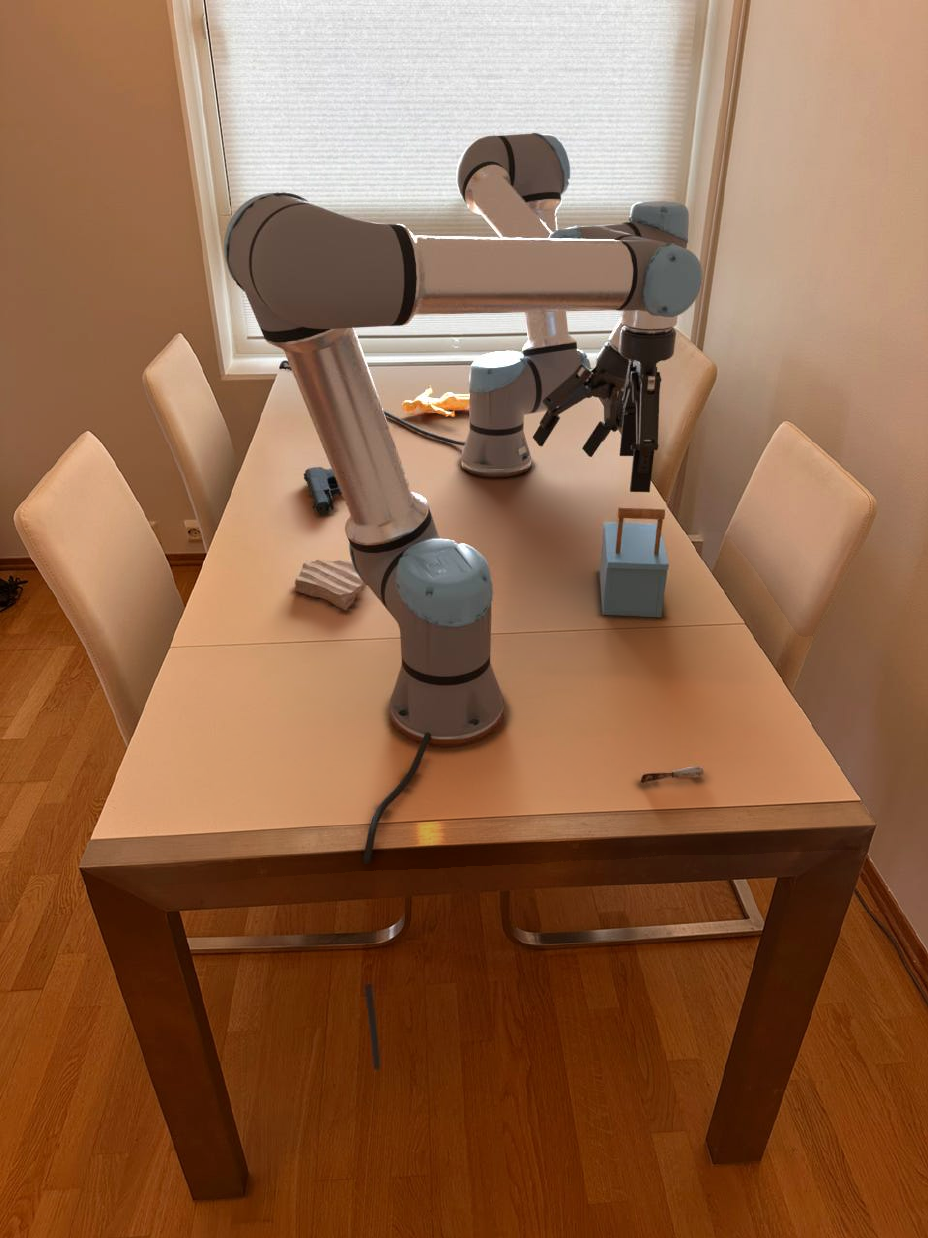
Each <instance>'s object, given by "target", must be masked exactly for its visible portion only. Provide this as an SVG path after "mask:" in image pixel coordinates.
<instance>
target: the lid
mask: <svg viewBox="0 0 928 1238" xmlns="http://www.w3.org/2000/svg"><path fill="white" fill-rule="evenodd" d="M617 519H618V520H617V521H604V522H603V528H604V537H605V548H606V559H607V568H625V569H651V570H667V571H669V566H670V564H669V559H668V555H667V549H666V546H665V539H664V536H663V523H664V520H665V519H666V509H665V508H649V507H618V508H617ZM625 519H636V520H657V522H656V523H650V522H649V523H648V522H624V520H625Z"/></svg>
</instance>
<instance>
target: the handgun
mask: <svg viewBox="0 0 928 1238" xmlns="http://www.w3.org/2000/svg"><path fill="white" fill-rule="evenodd" d="M303 480H304V481H305V482H306V483H307V487H308V490H309V494H310V496H311V499H312V502H313V505H311V508H312V509H313V510H314V509H315V512H316V513H317V514H318V515H328V514H329V513H330V509H331V510H332V511H334V510H335V509H334V507H335V506H334V499H333V496H338V495H340V494H341V490H340V488H339V485H338V483H337V480H336V478H335V475H334V473H333V470H332V468H331V467H330V468H324V467H322V466H315V467H314V466H313V467H308V468H307V469H305V471H304V473H303Z"/></svg>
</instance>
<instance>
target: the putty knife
mask: <svg viewBox="0 0 928 1238" xmlns="http://www.w3.org/2000/svg"><path fill="white" fill-rule="evenodd" d="M704 772H705V771H704V768H702V767H701V766H697V765H695V766H688V767H683V768H679V769H675V770H673V771H671V772H653V773H652V772H651V773H650V772H649V773H644V774H642V776H641V779H640V783H642V784H645V783H648V782H653V781H659V780H665V779H668V778H673V779H674V778H675V779H693V778H694V779H695V778H700V777H702V776H703V775H704Z"/></svg>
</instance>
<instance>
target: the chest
mask: <svg viewBox="0 0 928 1238" xmlns="http://www.w3.org/2000/svg"><path fill="white" fill-rule="evenodd" d="M601 540H602V541H601V550H600V551H601V552H600V563H599V586H600V587H599V588H600V599H601V613H602V615H603V616H622V617H625V616H626V617H645V618H646V617H647V618H648V617H649V618H662V614H663V607H664V598H665V591H666V584H667V575H668V570H651V569H625V568H607V559H606V548H605V537H604V527H603V529H602V539H601Z"/></svg>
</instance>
